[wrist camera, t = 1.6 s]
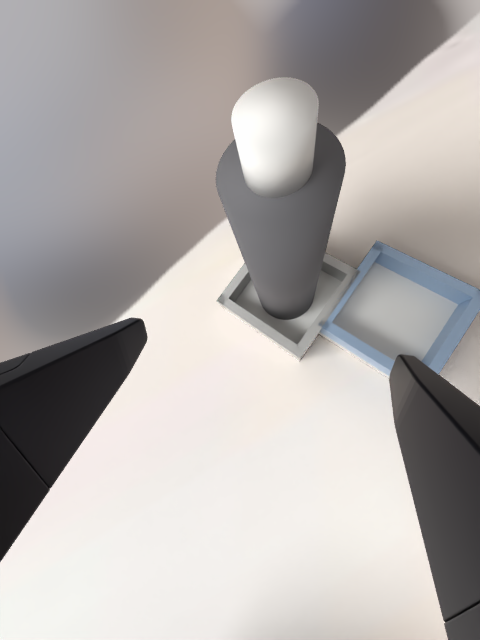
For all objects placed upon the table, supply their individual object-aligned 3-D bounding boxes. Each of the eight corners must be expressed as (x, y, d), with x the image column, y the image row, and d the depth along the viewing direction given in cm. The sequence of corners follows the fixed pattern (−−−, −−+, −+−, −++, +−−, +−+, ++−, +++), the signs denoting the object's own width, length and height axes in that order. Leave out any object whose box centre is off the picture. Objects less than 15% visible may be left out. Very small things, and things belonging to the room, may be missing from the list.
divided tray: (389, 424, 18) (403, 429, 16) (224, 309, 23) (216, 300, 21) (466, 305, 19) (489, 294, 17) (292, 217, 24) (292, 199, 22)
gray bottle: (293, 330, 21) (296, 206, 6) (248, 301, 22) (167, 143, 8) (325, 285, 21) (395, 72, 7) (279, 259, 22) (255, 35, 8)
